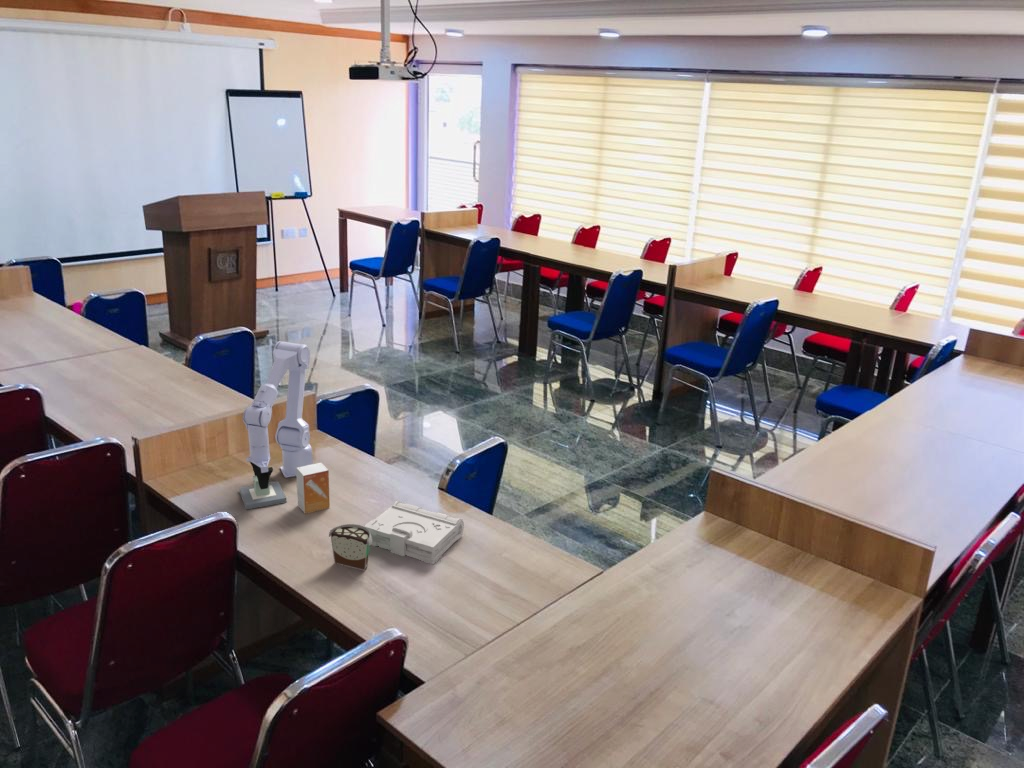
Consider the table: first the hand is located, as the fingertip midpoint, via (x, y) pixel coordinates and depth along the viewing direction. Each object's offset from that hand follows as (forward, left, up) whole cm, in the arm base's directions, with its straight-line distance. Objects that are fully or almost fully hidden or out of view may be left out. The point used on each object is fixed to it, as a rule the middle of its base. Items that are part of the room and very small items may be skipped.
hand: (261, 483), depth 260 cm
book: (-33, +40, -5) cm, 52 cm away
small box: (-13, +12, -5) cm, 18 cm away
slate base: (0, 0, -5) cm, 5 cm away
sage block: (0, 0, -3) cm, 3 cm away
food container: (-16, +46, -5) cm, 49 cm away
